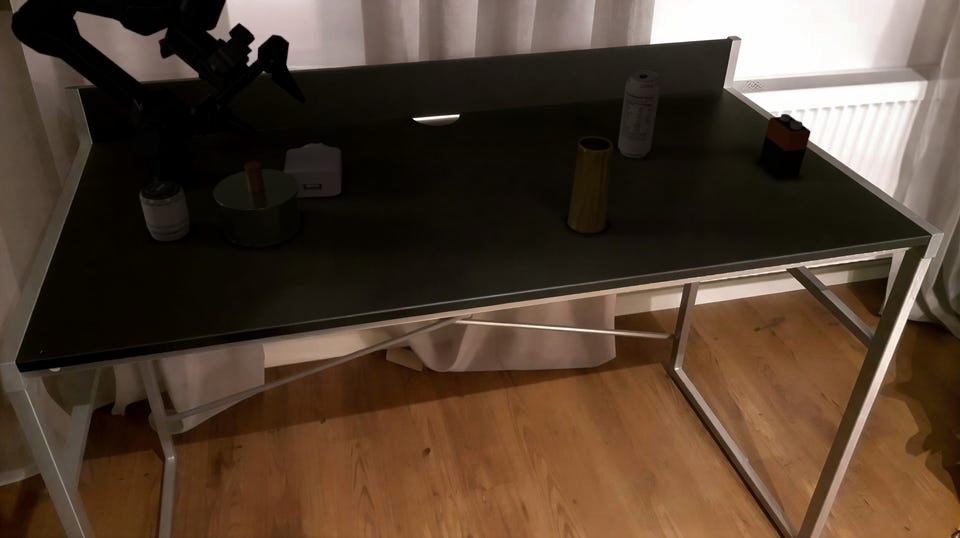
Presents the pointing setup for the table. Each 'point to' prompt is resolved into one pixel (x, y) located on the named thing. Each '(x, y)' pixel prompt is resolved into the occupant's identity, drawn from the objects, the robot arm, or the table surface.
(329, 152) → the charger
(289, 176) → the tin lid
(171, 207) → the camera lens
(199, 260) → the table surface
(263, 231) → the tin
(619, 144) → the energy drink can
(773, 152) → the battery
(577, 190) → the vase
